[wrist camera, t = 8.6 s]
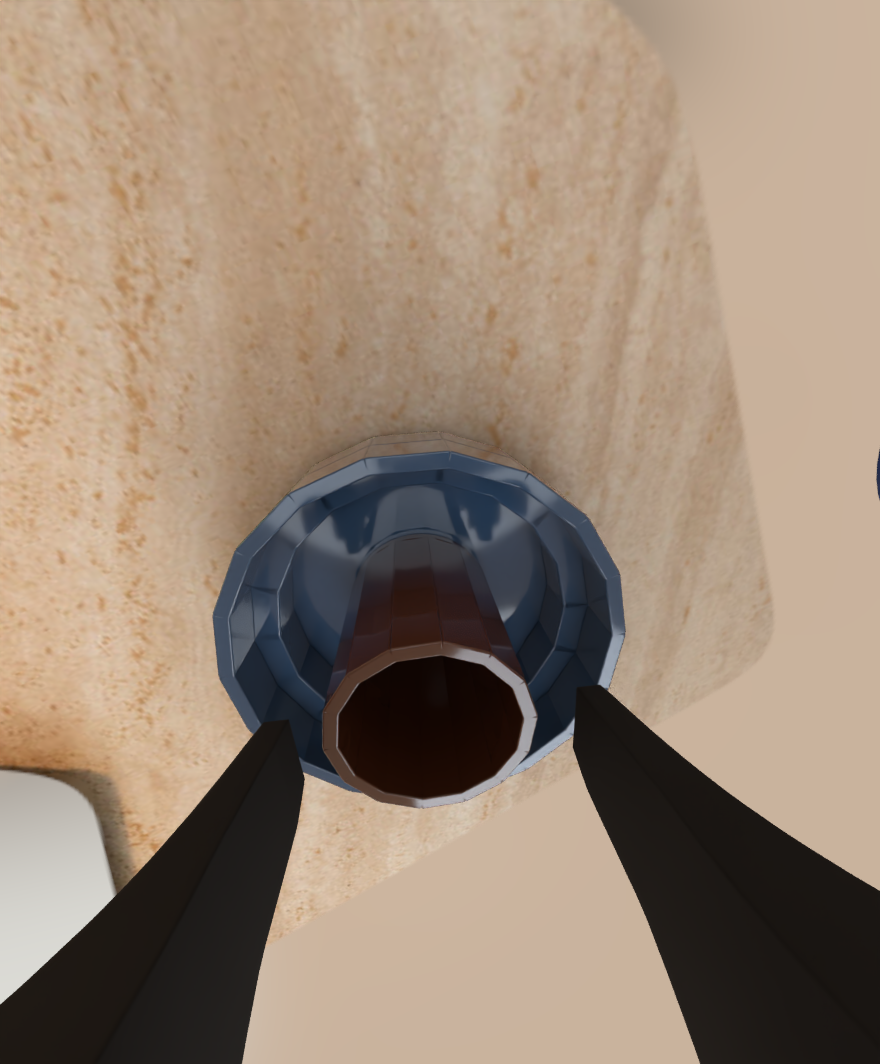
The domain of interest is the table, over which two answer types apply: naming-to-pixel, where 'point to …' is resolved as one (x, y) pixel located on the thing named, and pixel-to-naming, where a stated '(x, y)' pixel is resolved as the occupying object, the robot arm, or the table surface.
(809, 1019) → the robot arm
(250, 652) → the bowl
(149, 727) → the table surface
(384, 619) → the cup
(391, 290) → the table surface
